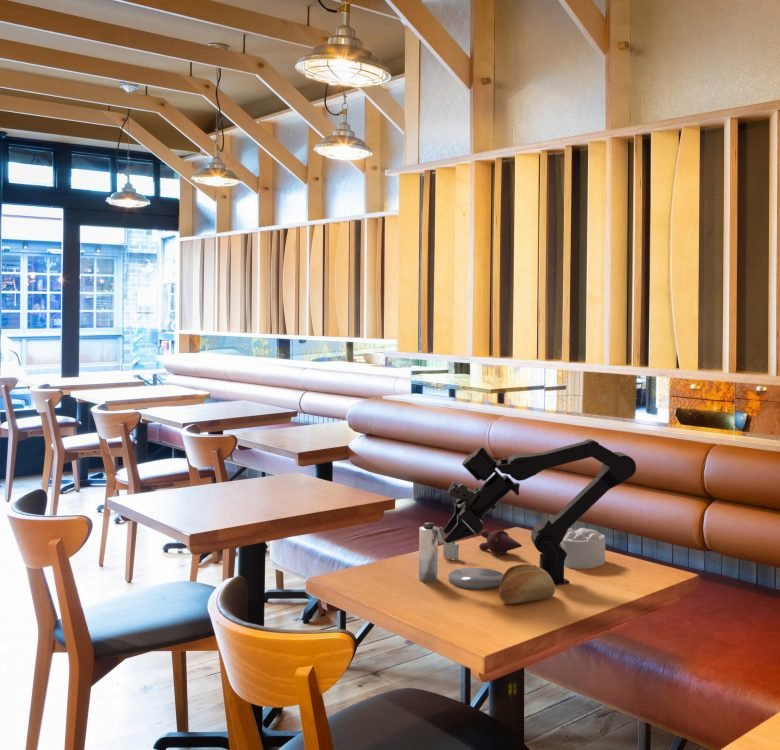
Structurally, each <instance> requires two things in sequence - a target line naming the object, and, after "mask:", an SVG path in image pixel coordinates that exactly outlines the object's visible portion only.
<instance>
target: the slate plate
mask: <svg viewBox="0 0 780 750" xmlns="http://www.w3.org/2000/svg"><path fill="white" fill-rule="evenodd" d="M503 575H504V573H502V572H500V571H497V570H494V569H489V568H484V567H483V568H482V567H463V568H458V569H454V570H452V571H450V572H449V573H448V582H449V584H451V585H452V584H453V586H454V585H455V587H458V588H461V589H464V590H465V589H467V590H474V591H475V590H476V591H477V590H478V591H480V590H481V591H484V590H485V591H486V590H493V589H498V588H499V587H500V583H501V579H502V577H503Z"/></svg>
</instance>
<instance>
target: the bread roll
mask: <svg viewBox="0 0 780 750" xmlns="http://www.w3.org/2000/svg"><path fill="white" fill-rule="evenodd" d="M498 588H499V589H498V593H499V598H500V599H501V601H502V602H503V603H505V604H510V605H514V604H515V605H516V604H521V603H525V602H533V601H537V600H538V601H539V600H547V599H550V598H552V597H553V596H554V594H555V592H556V585H554V582H553V580H552V578H551V576H550V575H549V574H548V573H547V572H546V571H545V570H543V569H542V568H540V566H537V565H536V564H529V563H521V564H516V565H513V566H511V567H508V568H507V569H506V571H505V572H504V573H503V577H502V579H501V583H500V587H498Z"/></svg>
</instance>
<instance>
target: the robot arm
mask: <svg viewBox="0 0 780 750" xmlns="http://www.w3.org/2000/svg"><path fill="white" fill-rule="evenodd" d="M589 458H593V459H595V460H597V461H598V462H600V463H601V464H602V465H601V467H600V469H599V471H598V472H597V475H596V476H595V477H594V478H593V479H592V480H591V481H590V482H589V483H588V484H587V485H586V486H585V487H584V488H583V489H582V490H581V491H579V493H577V495H576V496H574V498H572V499H571V500H570V501H569V502H568V503H567V505H565V506H564V507H563V508H562V509H561V510H560V511H559V512H558V513H557V514H555V515H554V516H552V517H550V518H548V516H547V515H546V514H544V515H543V516H542V517H541V519H540V520H539V521H538V522H537V523H535V524H533V525H532V526H533V529H532V531H531V533H530V540H531V542H532V544H533V545H534V547H535V549H536V550H537V551H538V552H540V554H539V567H540V568H542V569H543V570H545V571H546V572H547V573H548V574H549V575H550V576H551V578H552V580H553V582H554V585H555V586H556V585H563V584H569V583H570V580H568V579H566V578H565V567H564V561H565V558H566V556H567V553H566V551H565V550H564V548H563V547H562V546H561V544H560V543H561V542H562V540H563V539H564V537H565V535H566V533H567V531H568V529H569V528H572V526H573V525H574V524H575V523H576V522H577V521H578V520H579V519H580V518H581V517H583V515H585V514H586V512H588V510H590V509H591V508H592V507H593V506H594V505H595V504H596V503H598V501H599V500H600V499H601V498H602V497H603V496H604V495H605V494H606V493H607V492H608V491H609V490H611V489H613V488H616V487H617V486H620V485H622V484H623V483H625V482H627V481H628V480H629V479H630V478H632V477H633V476H634V475H635V474H636V471H637V464H636V461H635V460H634V459H633V458H632V457H630V456H629V455H627V454H626V453H624V452H620V451H615V452H613V451H612V450H610V449H608V448H607V447H605V446H603V445H601V444H600V443H599V442H598V441H596V440H594V439H592V438H589V439H585V440H584V441H580V442H576V443H573V444H572V443H571V444H569V445H565V446H561V447H558V448H553V449H550V450H546V451H542V452H526V453H515V454H511V455H510V456H508V458H505V459H494V458H493V457H492V456H491V455H490V454H489V453H488V451H487V449H485V448H484V446H480V447H479V448H478V449H476V450H474V452H472V453H470V454H469V455H468V456H467V457H466V458H465V459H464V460H463V461H462V463H461V465H462V467H464V469H465V470H466V471H468V473H470V475H471V476H472V477H473V478H474V479H475V480H476V481H478V482H479V481H483V482H484V483H483V484H482V485H481V486H480V487H479V486H478V487H477V486H476V487H475V488H474V489H472V488H470V487H468V485H465V484H464V483H460V482H458V481H456V480H453V481H452V482H451V483H450V484H451V485H450V486H449V488H448V489H447V490H448V491H447V493H448V495H449V496H450V497H452V498H456V500H455V503H454V513H453V515H452V516H451V518H450V519H449V520H448V522H447V524H445V527H444V528H443V532H444V534H445V535H446V534H447V535H446V536H445V537H446V538H445V542H446V543H450V542H453V541H455V542H456V541H459V540H462V539H463V538H468V537H471V536H475V535H476V534H477V535H479V534H481V531H482V530H484V523H483V522H484V521H483V520H484V519H485V518H484V517H485V516H486V515H487V514H488V513H489V512H490V511H491V510H495V509H497V504H499V503H500V502H501V500H503V499H504V498H505V497H506V496H507V495H508V494H510V492H511V491H512V492H513V493H514V494H515V495H516V496H519V495H520V486H521V484H520V482H514V481H513V480H512V479H514V480H516V481H526V480H527V479H529V478H531V477H534V476H536V475H538V474H540V473H541V472H542V471H544V470H547V469H551V468H554V467H557V466H558V467H559V466H562V465H565V464H570V463H573V462H577V461H581V460H584V459H589ZM498 471H499V472H500V473H501V474H503V476H502V475H501V474H500V473H499V472H498ZM509 475H510V477H511V478H512V479H511V478H510V477H509ZM485 481H486V482H485Z"/></svg>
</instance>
